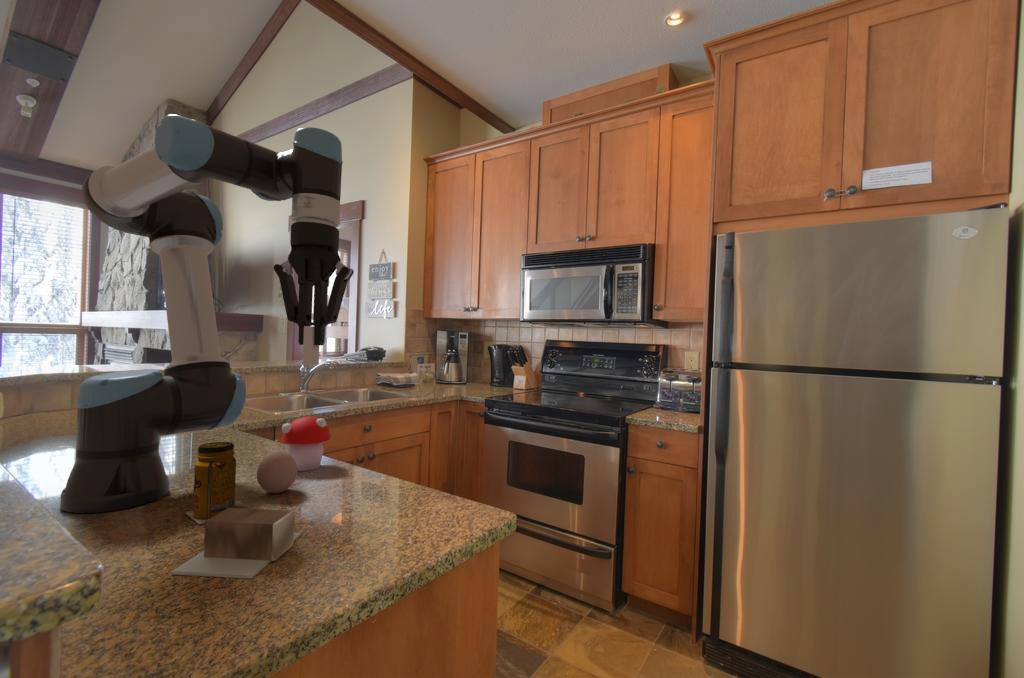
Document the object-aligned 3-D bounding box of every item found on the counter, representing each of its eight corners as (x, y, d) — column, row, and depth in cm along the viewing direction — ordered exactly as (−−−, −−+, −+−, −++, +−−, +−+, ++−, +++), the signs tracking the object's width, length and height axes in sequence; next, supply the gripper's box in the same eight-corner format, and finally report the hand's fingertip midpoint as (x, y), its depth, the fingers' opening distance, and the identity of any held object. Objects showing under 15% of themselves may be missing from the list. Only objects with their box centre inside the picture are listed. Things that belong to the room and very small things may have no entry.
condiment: (184, 513, 79) (187, 443, 79) (238, 501, 86) (241, 437, 86) (198, 525, 75) (201, 451, 75) (254, 511, 81) (257, 443, 81)
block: (275, 560, 63) (203, 557, 63) (293, 544, 68) (227, 541, 68) (276, 524, 63) (205, 520, 63) (294, 510, 68) (228, 507, 68)
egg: (265, 486, 94) (267, 445, 94) (302, 486, 95) (303, 446, 95) (249, 498, 87) (250, 454, 87) (288, 498, 88) (290, 455, 88)
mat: (171, 574, 59) (171, 571, 59) (235, 532, 72) (235, 529, 72) (251, 578, 59) (251, 575, 59) (300, 535, 72) (301, 532, 72)
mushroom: (269, 469, 106) (271, 417, 106) (306, 458, 116) (308, 410, 116) (304, 475, 102) (306, 421, 102) (339, 464, 112) (341, 414, 112)
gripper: (265, 218, 74) (260, 364, 74) (345, 220, 74) (339, 367, 74) (289, 229, 82) (284, 362, 82) (361, 231, 81) (357, 365, 81)
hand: (310, 364), depth 78 cm, fingers closed
